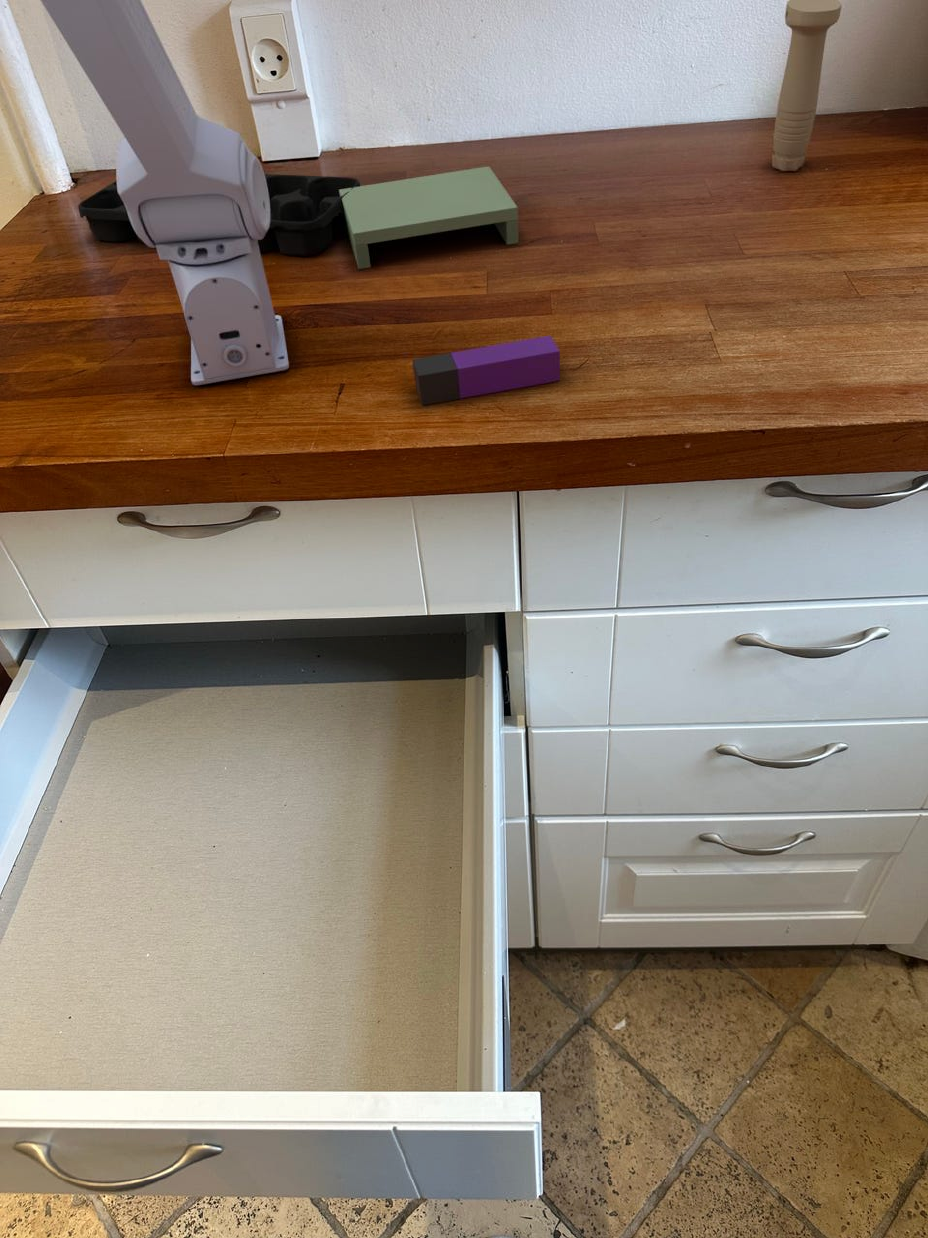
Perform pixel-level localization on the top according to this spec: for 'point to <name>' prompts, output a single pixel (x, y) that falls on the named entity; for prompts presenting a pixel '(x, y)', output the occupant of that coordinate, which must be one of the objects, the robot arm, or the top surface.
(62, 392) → the top surface
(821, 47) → the handle
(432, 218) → the shelf
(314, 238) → the egg carton
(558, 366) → the marker
